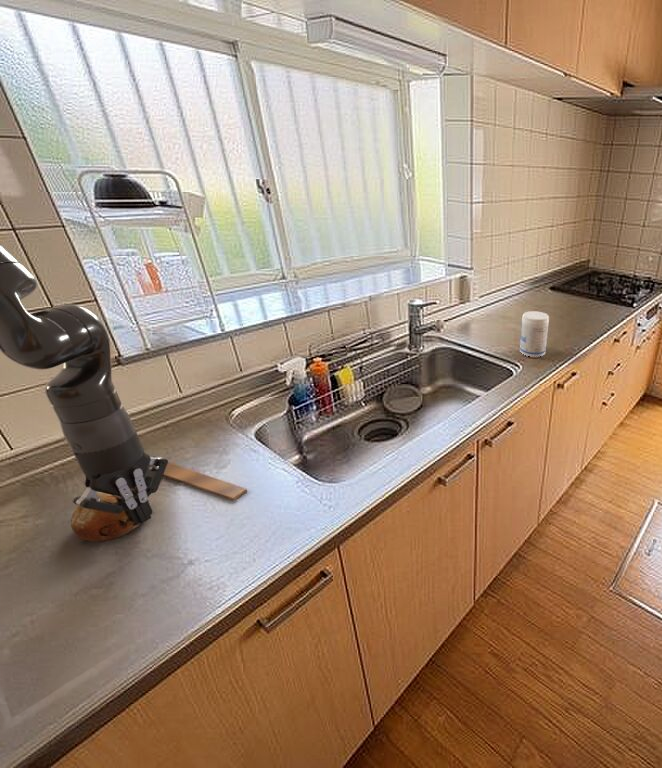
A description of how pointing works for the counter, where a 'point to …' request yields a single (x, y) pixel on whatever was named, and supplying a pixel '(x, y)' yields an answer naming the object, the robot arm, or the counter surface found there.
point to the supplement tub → (534, 334)
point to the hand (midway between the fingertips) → (142, 520)
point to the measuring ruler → (203, 482)
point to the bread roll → (100, 522)
